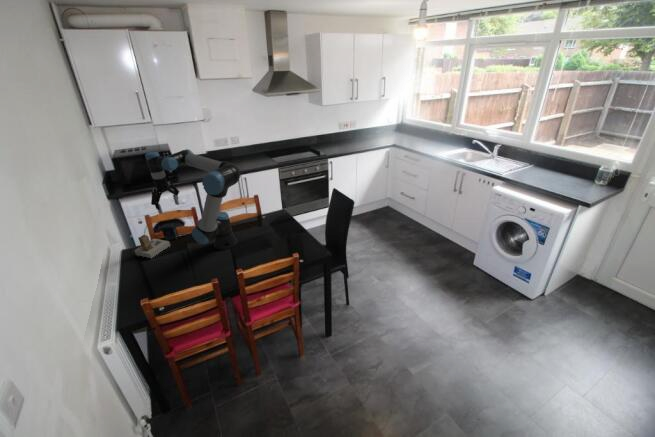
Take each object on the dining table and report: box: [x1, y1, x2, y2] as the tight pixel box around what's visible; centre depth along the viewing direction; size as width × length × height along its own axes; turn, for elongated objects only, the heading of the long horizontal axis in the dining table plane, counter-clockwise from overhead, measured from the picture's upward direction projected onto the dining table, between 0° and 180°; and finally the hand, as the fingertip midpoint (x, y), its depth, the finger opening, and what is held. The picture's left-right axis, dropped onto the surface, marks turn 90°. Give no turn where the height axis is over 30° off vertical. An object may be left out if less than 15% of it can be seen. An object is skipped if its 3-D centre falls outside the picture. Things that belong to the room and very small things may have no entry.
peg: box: [138, 234, 152, 251], centre depth 210 cm, size 4×4×12 cm
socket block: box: [133, 238, 171, 260], centre depth 215 cm, size 14×16×4 cm
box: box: [160, 222, 180, 241], centre depth 227 cm, size 8×6×11 cm
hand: (169, 208), depth 205 cm, fingers open, 13 cm apart
